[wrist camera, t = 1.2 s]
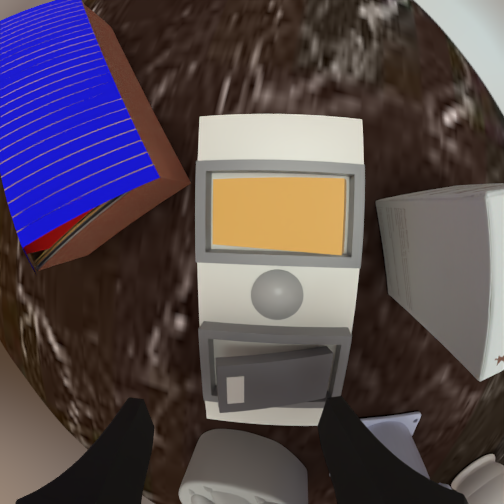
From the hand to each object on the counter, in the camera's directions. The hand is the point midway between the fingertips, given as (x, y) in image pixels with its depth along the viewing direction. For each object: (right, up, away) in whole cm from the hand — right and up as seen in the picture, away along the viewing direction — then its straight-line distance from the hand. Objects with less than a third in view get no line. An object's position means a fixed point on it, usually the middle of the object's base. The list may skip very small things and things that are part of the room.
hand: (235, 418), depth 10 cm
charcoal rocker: (+2, -1, +7) cm, 7 cm away
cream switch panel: (+2, +4, +11) cm, 12 cm away
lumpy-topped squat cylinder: (0, -16, +15) cm, 22 cm away
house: (-13, +17, +11) cm, 24 cm away
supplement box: (+14, +8, +9) cm, 18 cm away
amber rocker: (+2, +9, +5) cm, 10 cm away
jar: (+35, -27, +12) cm, 46 cm away
